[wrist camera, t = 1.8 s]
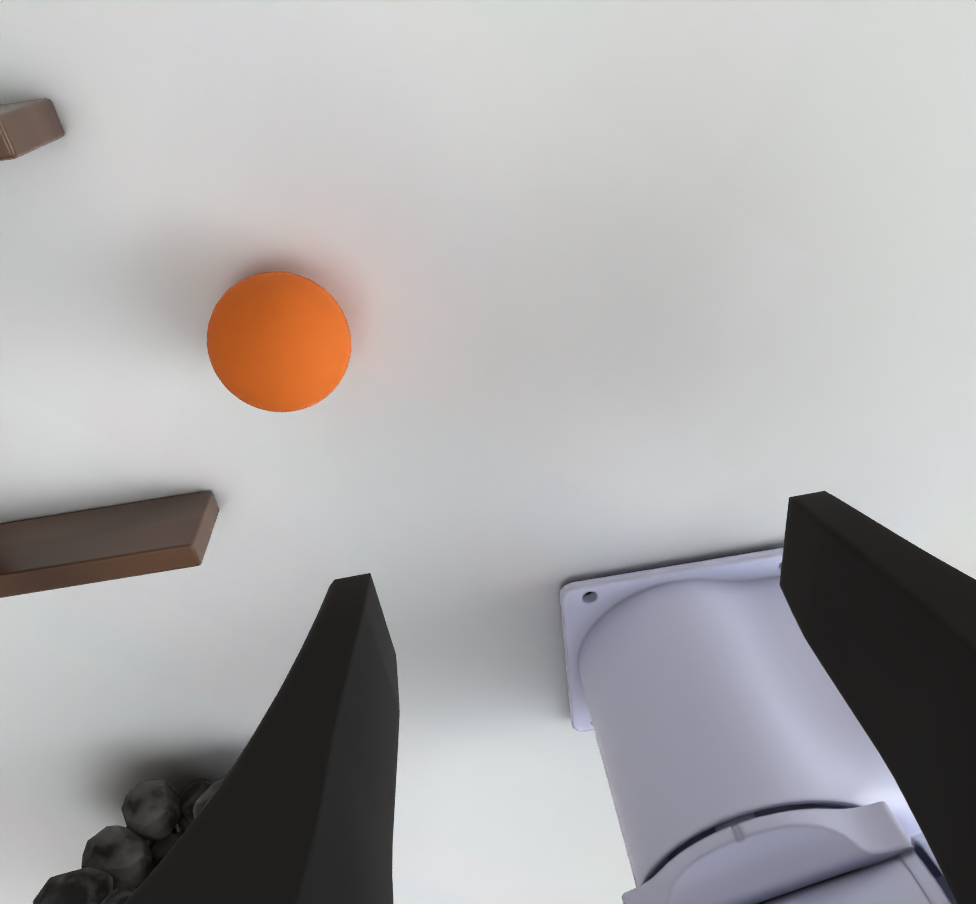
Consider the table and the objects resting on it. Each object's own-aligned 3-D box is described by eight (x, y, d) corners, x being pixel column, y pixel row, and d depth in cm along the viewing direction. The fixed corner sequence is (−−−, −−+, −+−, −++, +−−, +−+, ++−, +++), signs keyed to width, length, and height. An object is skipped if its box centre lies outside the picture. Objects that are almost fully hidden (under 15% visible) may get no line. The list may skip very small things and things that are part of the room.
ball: (338, 244, 18) (327, 291, 15) (365, 363, 20) (361, 425, 17) (204, 264, 18) (168, 315, 15) (244, 382, 20) (220, 448, 17)
